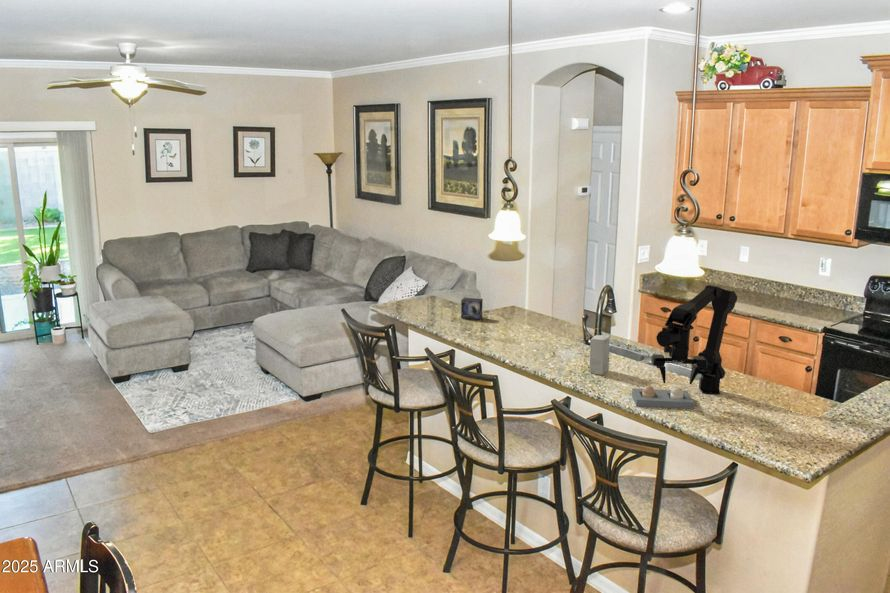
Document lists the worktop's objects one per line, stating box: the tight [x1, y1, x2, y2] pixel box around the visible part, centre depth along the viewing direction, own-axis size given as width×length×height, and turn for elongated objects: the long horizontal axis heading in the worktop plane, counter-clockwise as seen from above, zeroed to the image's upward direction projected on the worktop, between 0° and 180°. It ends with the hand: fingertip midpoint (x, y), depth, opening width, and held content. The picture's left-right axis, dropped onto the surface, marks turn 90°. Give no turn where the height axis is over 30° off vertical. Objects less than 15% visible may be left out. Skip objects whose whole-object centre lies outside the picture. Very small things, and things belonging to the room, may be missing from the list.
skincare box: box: [588, 334, 611, 376], centre depth 288 cm, size 8×6×15 cm
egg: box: [670, 386, 684, 399], centre depth 255 cm, size 4×4×6 cm
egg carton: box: [631, 385, 695, 410], centre depth 256 cm, size 20×12×6 cm, turn 83°
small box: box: [460, 297, 483, 321], centre depth 376 cm, size 11×6×10 cm, turn 73°
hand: (677, 383), depth 254 cm, fingers open, 9 cm apart
